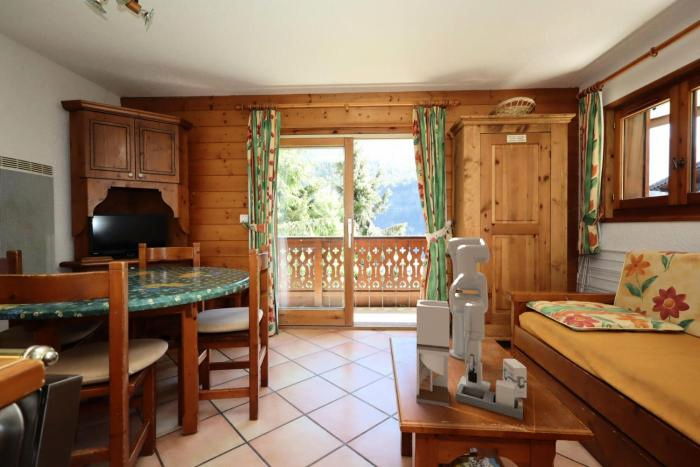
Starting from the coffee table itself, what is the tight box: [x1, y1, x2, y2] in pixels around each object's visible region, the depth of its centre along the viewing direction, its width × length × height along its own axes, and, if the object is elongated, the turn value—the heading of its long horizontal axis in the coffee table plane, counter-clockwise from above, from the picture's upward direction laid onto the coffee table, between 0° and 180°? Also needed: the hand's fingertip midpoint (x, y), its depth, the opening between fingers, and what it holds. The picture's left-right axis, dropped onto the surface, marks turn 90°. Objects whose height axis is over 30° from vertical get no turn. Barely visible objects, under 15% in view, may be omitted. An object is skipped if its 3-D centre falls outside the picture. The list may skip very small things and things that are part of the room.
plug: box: [465, 361, 483, 389], centre depth 116 cm, size 4×6×9 cm
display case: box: [415, 299, 450, 408], centre depth 109 cm, size 11×11×35 cm
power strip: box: [455, 384, 524, 421], centre depth 103 cm, size 8×21×4 cm, turn 58°
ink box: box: [502, 358, 528, 399], centre depth 111 cm, size 9×5×12 cm, turn 0°
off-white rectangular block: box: [495, 379, 516, 408], centre depth 100 cm, size 4×6×9 cm
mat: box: [456, 375, 491, 391], centre depth 116 cm, size 11×11×1 cm
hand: (474, 377), depth 116 cm, fingers open, 6 cm apart
